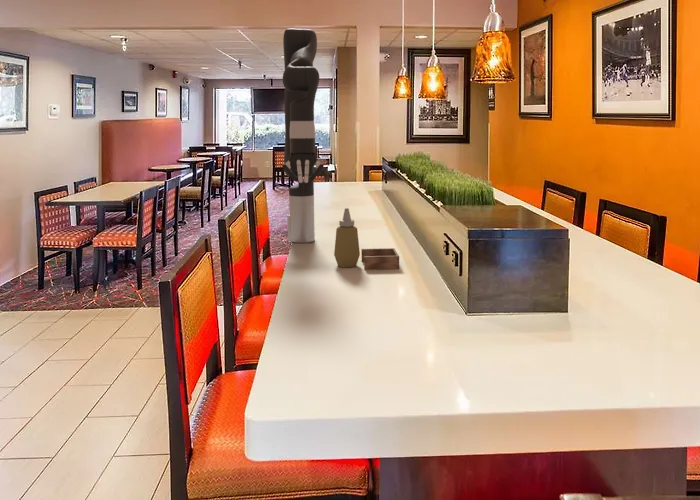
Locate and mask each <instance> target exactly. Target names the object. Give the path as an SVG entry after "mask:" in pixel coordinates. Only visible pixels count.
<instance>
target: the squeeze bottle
mask: <svg viewBox="0 0 700 500" xmlns="http://www.w3.org/2000/svg"><path fill="white" fill-rule="evenodd" d="M338 222H339V224H338V225H339V226H337V227H336V232H335V240H334V241H335V242H334V252H333V256H334V259H335V261H336V264H337V266H338V267H341V268H353V267H354V268H355V266H356V267H357V265H358V262H359V259H360V256H361V254H360V244H359V235H358V234H359V233H358V228H357V226H355V219H352V218H351V214H350V209H349V207H345V208H344V211H343V216H342V219H339V221H338Z"/></svg>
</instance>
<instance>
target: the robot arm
mask: <svg viewBox="0 0 700 500" xmlns="http://www.w3.org/2000/svg"><path fill="white" fill-rule="evenodd" d="M282 39H283V40H282V41H283V45H282V46H283V58H284V60H283V61H284V62H283V63H284V65H283V66H284V71H283V74H282V85H283V87H284V130H285V131H284V132H285V134H284V135H285V138H284V154H283V155H284V156H283V164H282V166H281V167H282V168H283V170H284V174H285V176H287V177H290V178H291V180H292V181H294V182H297V184H295V185H292V186H290V187H289V188H288V204H289V205H288V207H289V210H288V211H289V215H287V241H288V242H292V243H298V244H302V243H306V244H307V243H312V242H314V241H315V239H316V238H315V236H316V234H315V233H316V232H315V229H316V227H315V196H314V195H315V190H314V189H315V182H314V181H315V179H316V177H318V175H319V174H320V172H321V171H322V170H323V168H324V166H325V164H324V163H323V162H322V163H321V162H320V161H319V160H318V157H317V155H316V127H315V112H314V111H315V100H316V95H317V91H318V88H319V82H320V73H319V71H318V69H317V68H316V67H315V66H314V61H315V57H316V55H317V51H318V50H317V49H318V37H317V34H316V32H315V30H313V29H309V28H292V27H291V28H286V29H284V33H283V37H282ZM303 177H304V179H303Z"/></svg>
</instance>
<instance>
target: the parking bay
mask: <svg viewBox="0 0 700 500" xmlns="http://www.w3.org/2000/svg"><path fill="white" fill-rule="evenodd" d="M361 262H364V263H363V264H364V265H363V267H364V269H363V270H366V271H367V270H368V271H369V270H399V269H400V254H399V253H398V252H397V250H396V248H394V247H393V248H392V247H391V248H387V247H385V248H361Z"/></svg>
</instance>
